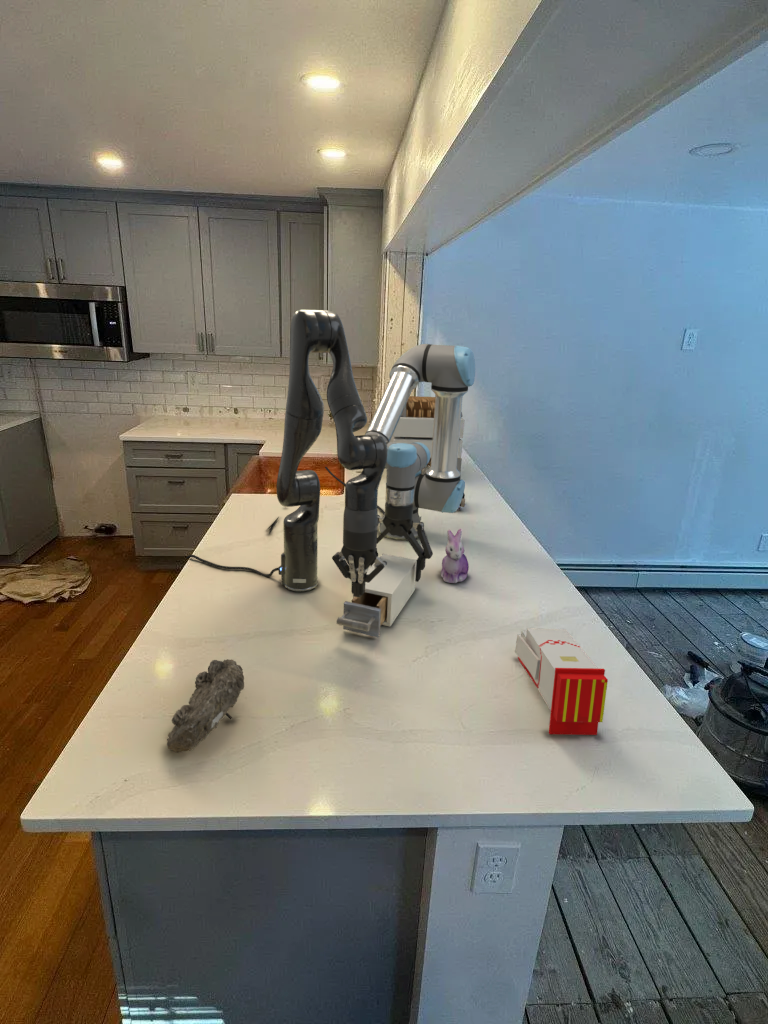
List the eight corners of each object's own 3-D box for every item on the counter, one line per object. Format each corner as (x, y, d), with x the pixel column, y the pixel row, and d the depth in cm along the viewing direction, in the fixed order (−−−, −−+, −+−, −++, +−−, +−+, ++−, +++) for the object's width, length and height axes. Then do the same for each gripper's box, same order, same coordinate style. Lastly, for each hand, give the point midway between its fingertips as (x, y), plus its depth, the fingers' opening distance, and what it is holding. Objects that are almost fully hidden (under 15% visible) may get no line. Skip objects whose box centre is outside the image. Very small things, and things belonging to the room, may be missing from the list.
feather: (286, 511, 220) (288, 507, 220) (268, 535, 193) (271, 531, 193) (282, 508, 220) (285, 504, 219) (263, 533, 193) (266, 528, 193)
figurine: (450, 587, 163) (454, 538, 158) (431, 572, 171) (435, 526, 166) (477, 581, 167) (482, 534, 162) (457, 567, 175) (461, 522, 170)
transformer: (382, 463, 289) (386, 382, 275) (445, 464, 293) (451, 384, 279) (390, 482, 257) (394, 392, 243) (460, 483, 261) (468, 394, 247)
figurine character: (465, 515, 224) (460, 499, 237) (467, 498, 221) (462, 483, 234) (448, 515, 224) (444, 499, 237) (450, 498, 220) (445, 482, 234)
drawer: (369, 649, 130) (370, 622, 127) (333, 640, 133) (333, 614, 130) (404, 599, 153) (405, 575, 151) (372, 592, 156) (373, 569, 153)
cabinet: (390, 626, 141) (391, 594, 138) (352, 618, 145) (353, 586, 141) (415, 589, 161) (417, 559, 158) (381, 582, 164) (382, 553, 161)
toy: (561, 612, 132) (617, 675, 103) (556, 665, 135) (608, 741, 106) (510, 611, 132) (551, 674, 102) (505, 664, 134) (544, 741, 105)
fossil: (192, 660, 117) (244, 628, 112) (224, 691, 120) (276, 661, 115) (142, 746, 98) (202, 712, 93) (182, 779, 101) (242, 748, 96)
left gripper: (325, 526, 123) (325, 597, 129) (382, 536, 119) (379, 608, 125) (339, 515, 130) (338, 583, 136) (394, 524, 126) (390, 594, 132)
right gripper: (351, 499, 151) (349, 572, 158) (440, 513, 143) (434, 589, 151) (361, 491, 158) (359, 562, 165) (447, 505, 150) (441, 577, 157)
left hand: (358, 595), depth 130 cm, fingers closed
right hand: (395, 575), depth 158 cm, fingers open, 12 cm apart
